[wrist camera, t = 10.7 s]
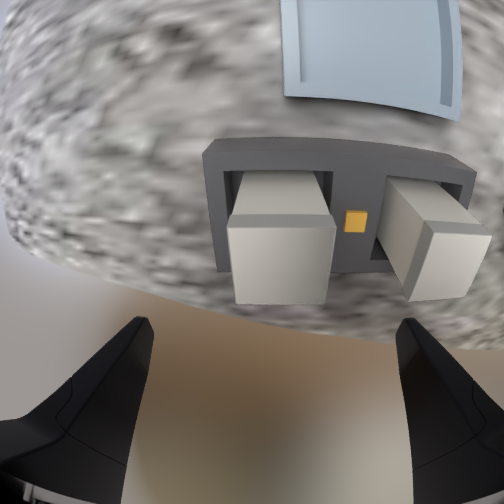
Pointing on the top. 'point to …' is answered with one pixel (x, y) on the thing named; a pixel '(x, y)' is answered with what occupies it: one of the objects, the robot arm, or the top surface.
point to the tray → (375, 52)
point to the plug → (280, 239)
